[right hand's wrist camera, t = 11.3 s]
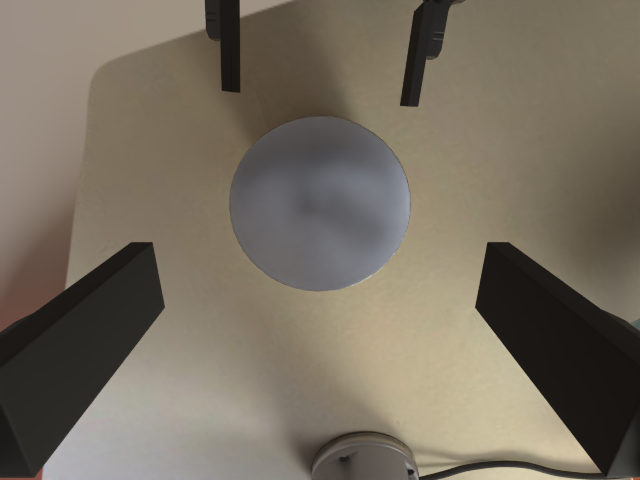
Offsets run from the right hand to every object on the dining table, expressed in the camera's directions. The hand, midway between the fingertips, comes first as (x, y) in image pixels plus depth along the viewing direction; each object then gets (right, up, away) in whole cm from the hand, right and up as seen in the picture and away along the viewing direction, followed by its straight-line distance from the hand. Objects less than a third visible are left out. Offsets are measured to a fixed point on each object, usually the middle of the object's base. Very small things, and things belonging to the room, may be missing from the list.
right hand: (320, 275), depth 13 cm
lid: (0, +3, +8) cm, 8 cm away
